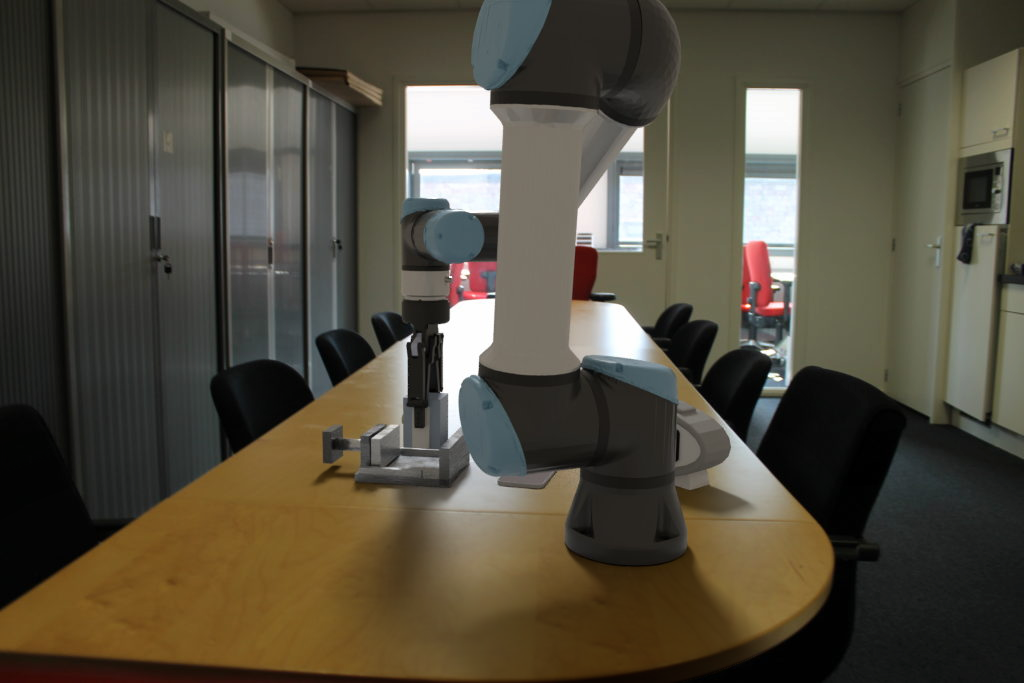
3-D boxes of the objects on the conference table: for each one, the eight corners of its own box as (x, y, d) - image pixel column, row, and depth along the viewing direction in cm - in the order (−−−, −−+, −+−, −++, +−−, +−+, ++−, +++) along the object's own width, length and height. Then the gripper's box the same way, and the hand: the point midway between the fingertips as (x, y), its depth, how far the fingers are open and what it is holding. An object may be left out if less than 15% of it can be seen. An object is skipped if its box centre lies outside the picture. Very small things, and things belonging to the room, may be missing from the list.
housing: (440, 449, 130) (440, 399, 129) (398, 447, 131) (398, 397, 130) (448, 441, 135) (448, 393, 134) (407, 439, 136) (407, 391, 135)
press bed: (449, 487, 126) (449, 444, 125) (354, 481, 128) (354, 439, 128) (469, 462, 140) (469, 424, 139) (383, 457, 142) (383, 420, 141)
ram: (380, 471, 130) (380, 438, 129) (316, 467, 131) (316, 435, 131) (399, 454, 139) (399, 424, 139) (340, 451, 141) (339, 421, 140)
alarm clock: (591, 463, 140) (593, 388, 139) (616, 457, 144) (618, 384, 143) (704, 496, 123) (707, 411, 121) (729, 488, 127) (732, 406, 125)
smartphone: (563, 460, 140) (542, 485, 126) (563, 465, 140) (542, 490, 126) (520, 457, 142) (495, 480, 128) (520, 462, 142) (495, 486, 128)
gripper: (434, 303, 121) (434, 459, 124) (462, 293, 138) (461, 430, 141) (384, 301, 122) (385, 456, 125) (418, 292, 139) (419, 428, 143)
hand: (426, 442), depth 133 cm, fingers closed on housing, 5 cm apart
